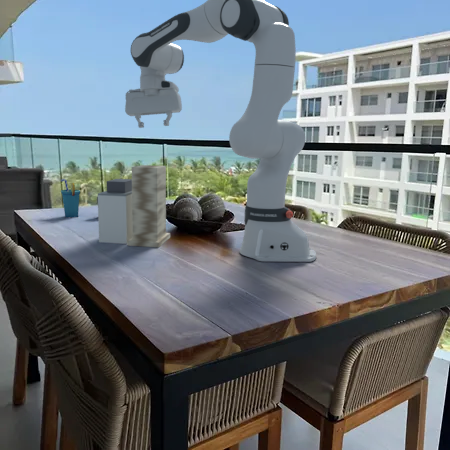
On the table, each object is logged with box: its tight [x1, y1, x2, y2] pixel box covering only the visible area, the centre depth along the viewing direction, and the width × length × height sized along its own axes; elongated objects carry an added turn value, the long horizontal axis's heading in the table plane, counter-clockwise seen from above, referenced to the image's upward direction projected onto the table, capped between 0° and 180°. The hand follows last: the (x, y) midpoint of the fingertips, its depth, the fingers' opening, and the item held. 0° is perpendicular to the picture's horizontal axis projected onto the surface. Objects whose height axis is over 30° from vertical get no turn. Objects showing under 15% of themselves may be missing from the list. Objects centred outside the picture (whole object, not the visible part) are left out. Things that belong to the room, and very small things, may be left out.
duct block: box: [97, 190, 133, 245], centre depth 148 cm, size 9×14×16 cm, turn 172°
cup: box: [60, 178, 81, 218], centre depth 184 cm, size 14×8×15 cm, turn 45°
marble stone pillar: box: [126, 164, 171, 248], centre depth 144 cm, size 10×14×24 cm
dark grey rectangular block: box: [106, 178, 132, 193], centre depth 151 cm, size 6×18×4 cm, turn 173°
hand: (153, 126), depth 160 cm, fingers open, 8 cm apart
